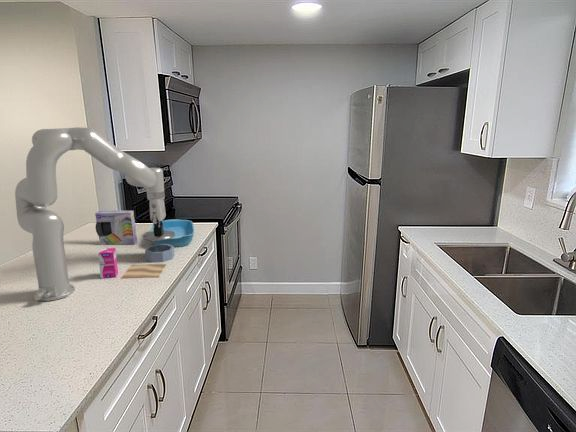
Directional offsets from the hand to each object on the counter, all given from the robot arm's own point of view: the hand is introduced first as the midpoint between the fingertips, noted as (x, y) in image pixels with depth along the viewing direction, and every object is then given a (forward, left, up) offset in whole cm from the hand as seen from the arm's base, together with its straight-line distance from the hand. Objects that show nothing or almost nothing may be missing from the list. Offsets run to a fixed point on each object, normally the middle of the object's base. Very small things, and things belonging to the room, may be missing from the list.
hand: (158, 233), depth 170 cm
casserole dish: (+30, 0, -13) cm, 32 cm away
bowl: (0, 0, -12) cm, 12 cm away
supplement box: (-20, +16, -12) cm, 28 cm away
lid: (0, 0, -1) cm, 1 cm away
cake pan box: (+24, +27, -12) cm, 38 cm away
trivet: (-16, +3, -12) cm, 20 cm away
